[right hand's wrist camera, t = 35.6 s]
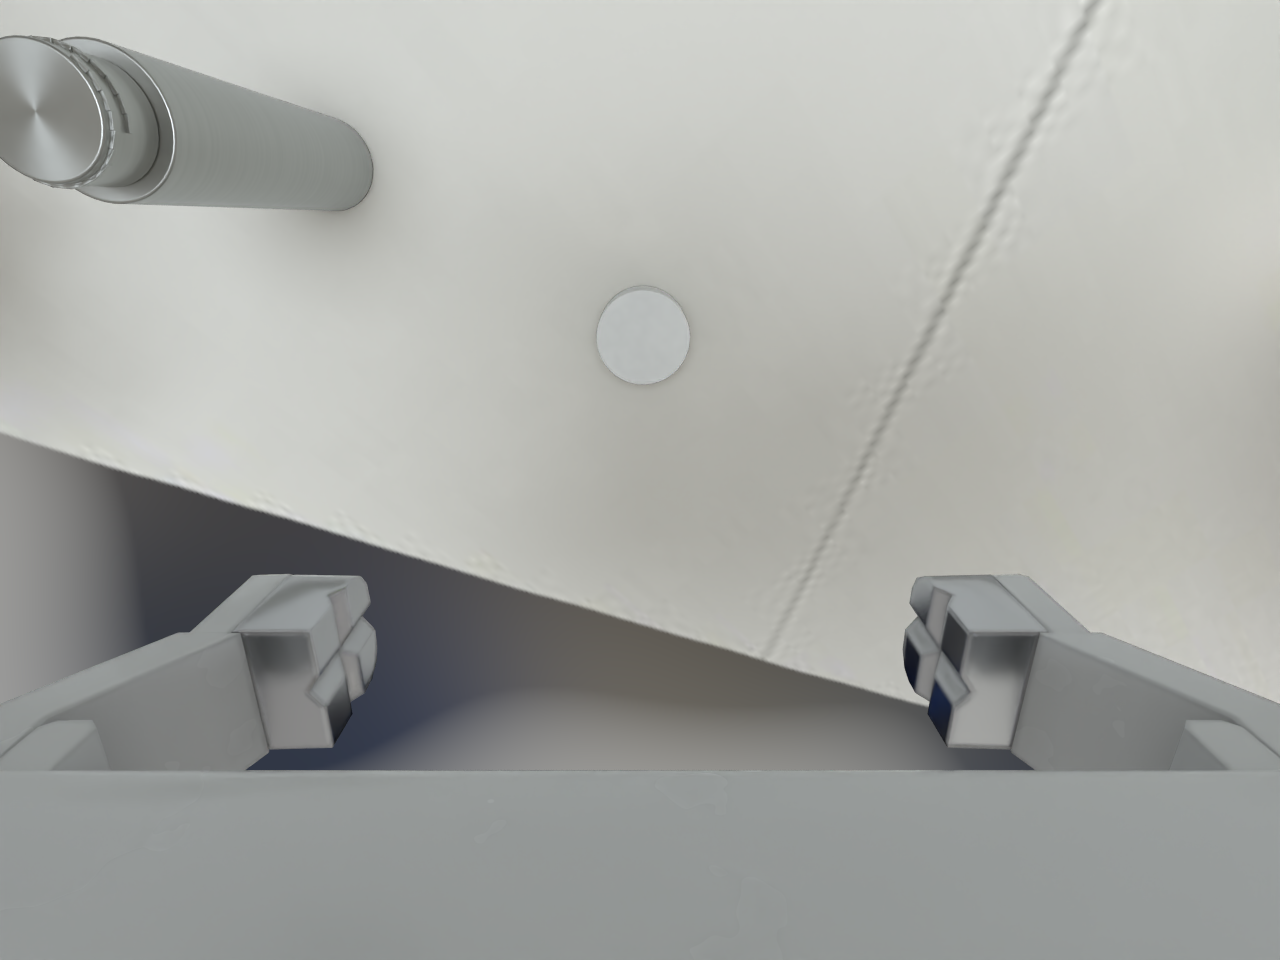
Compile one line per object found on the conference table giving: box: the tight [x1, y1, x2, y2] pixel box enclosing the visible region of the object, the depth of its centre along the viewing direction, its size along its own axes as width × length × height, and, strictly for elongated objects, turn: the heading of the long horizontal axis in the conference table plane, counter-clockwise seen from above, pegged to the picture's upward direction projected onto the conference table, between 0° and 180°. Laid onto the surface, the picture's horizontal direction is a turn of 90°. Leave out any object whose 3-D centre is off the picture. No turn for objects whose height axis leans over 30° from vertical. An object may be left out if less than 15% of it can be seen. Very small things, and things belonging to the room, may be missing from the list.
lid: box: [596, 286, 690, 385], centre depth 36 cm, size 5×5×2 cm
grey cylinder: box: [0, 35, 373, 211], centre depth 26 cm, size 4×4×18 cm
